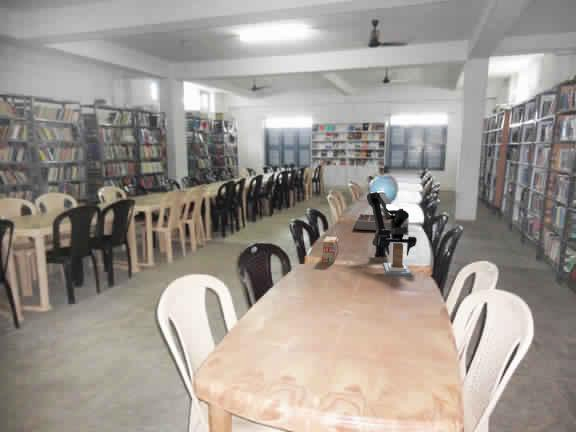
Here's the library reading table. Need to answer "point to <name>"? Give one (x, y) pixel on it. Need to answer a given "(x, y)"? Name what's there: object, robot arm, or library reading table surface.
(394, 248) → the walnut column
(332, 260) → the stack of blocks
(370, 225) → the organizer tray
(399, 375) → the library reading table surface
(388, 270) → the blueprint board
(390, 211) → the robot arm
